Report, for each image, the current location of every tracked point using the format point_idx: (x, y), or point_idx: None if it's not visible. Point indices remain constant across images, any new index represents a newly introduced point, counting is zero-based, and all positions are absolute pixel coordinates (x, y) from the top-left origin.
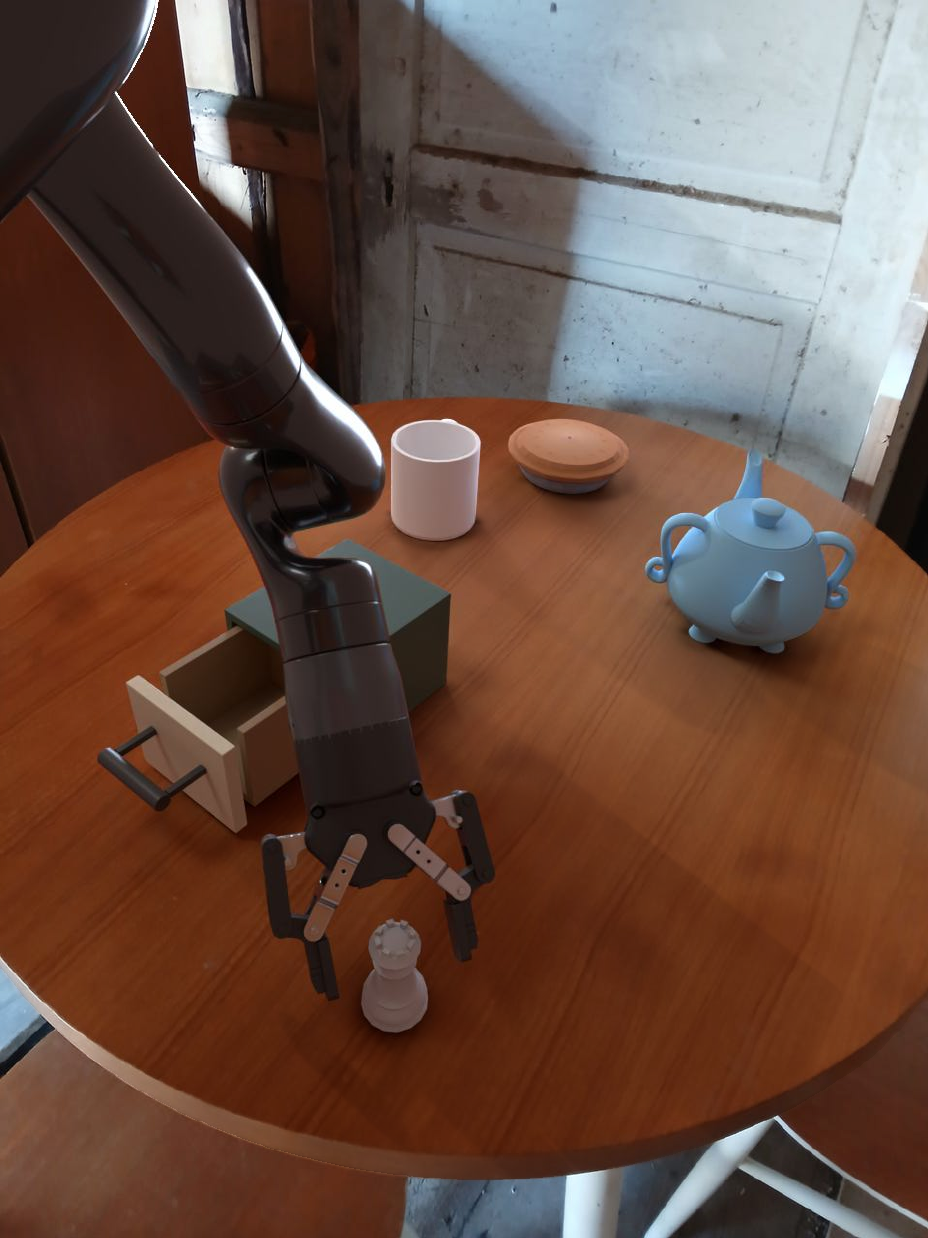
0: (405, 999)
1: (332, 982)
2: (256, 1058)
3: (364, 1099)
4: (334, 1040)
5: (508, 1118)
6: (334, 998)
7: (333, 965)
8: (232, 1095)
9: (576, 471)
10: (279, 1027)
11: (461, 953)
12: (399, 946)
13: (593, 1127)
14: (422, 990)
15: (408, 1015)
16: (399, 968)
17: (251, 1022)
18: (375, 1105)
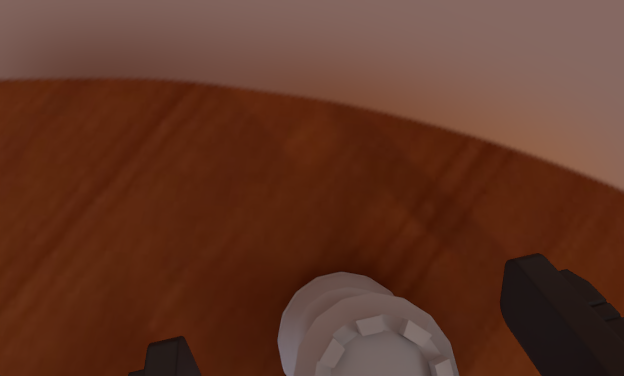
0: (330, 300)
1: (546, 283)
2: (582, 255)
3: (397, 171)
4: (451, 275)
5: (168, 121)
6: (523, 256)
7: (564, 318)
8: (609, 198)
9: None
10: None
11: (175, 352)
12: (368, 357)
13: (36, 95)
14: (289, 334)
15: (322, 283)
16: (365, 294)
17: None
18: (379, 161)
